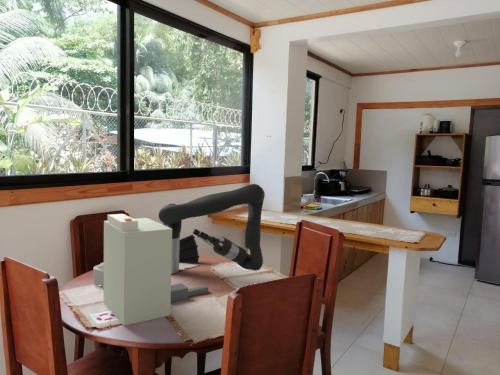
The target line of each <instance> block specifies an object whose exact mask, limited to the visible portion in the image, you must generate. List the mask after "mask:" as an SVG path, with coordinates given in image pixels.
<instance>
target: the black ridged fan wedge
mask: <svg viewBox="0 0 500 375" xmlns="http://www.w3.org/2000/svg"><path fill="white" fill-rule="evenodd" d="M195 238H196V235H194V234H190V235H188V236H185V237H184V238H183V237H182V238H181V239H180V251H179V264H181V263H183V264H193V265H194V264H195V265H197V264H198V263H199V259H200V255H199V250H198V244H197V242H196V239H195Z"/></svg>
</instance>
